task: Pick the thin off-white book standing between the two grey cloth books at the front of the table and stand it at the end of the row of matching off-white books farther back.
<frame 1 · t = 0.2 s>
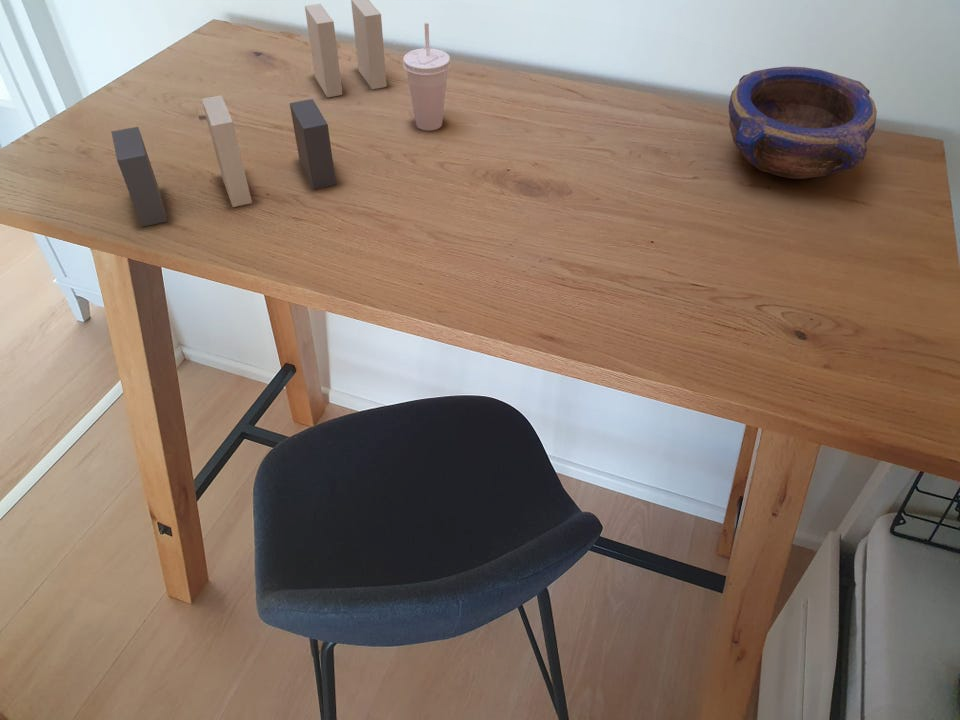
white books: (346, 47, 115), on the table
smoothie: (429, 125, 110), on the table
bowl: (783, 165, 103), on the table
grey books: (237, 190, 97), on the table
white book: (237, 190, 97), on the table
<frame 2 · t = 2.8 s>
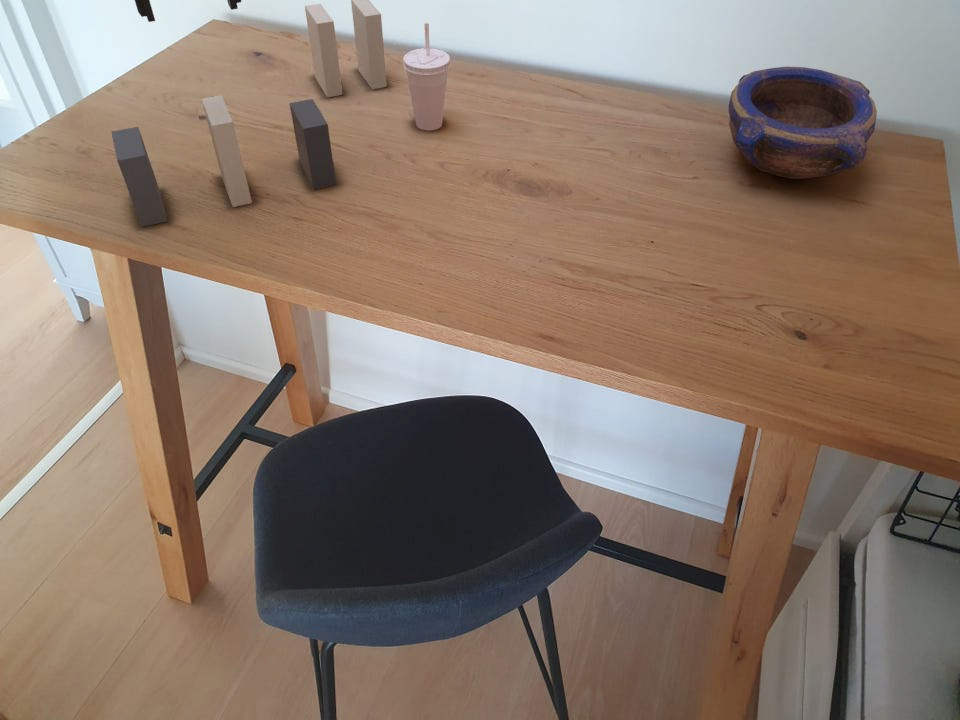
hand: (192, 12, 82), 22 cm above the table, tool pointing down, fingers open, 8 cm apart
nothing on the table moved.
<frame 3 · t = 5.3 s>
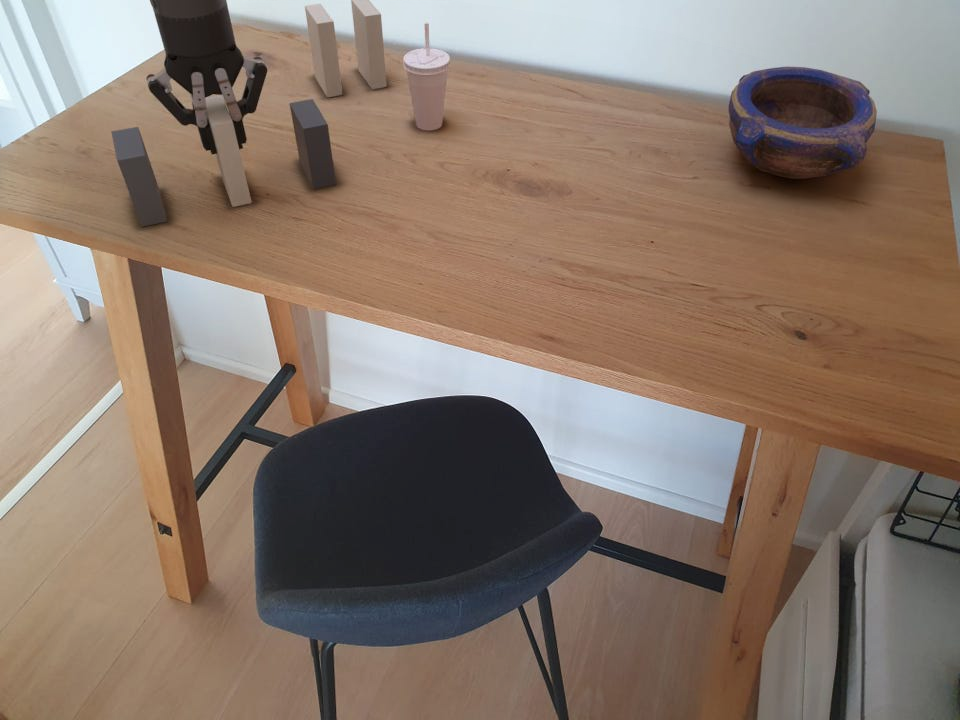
hand: (225, 148, 93), 6 cm above the table, tool pointing down, fingers closed on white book, 2 cm apart
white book: (236, 190, 97), on the table, touching gripper
everything else where it was.
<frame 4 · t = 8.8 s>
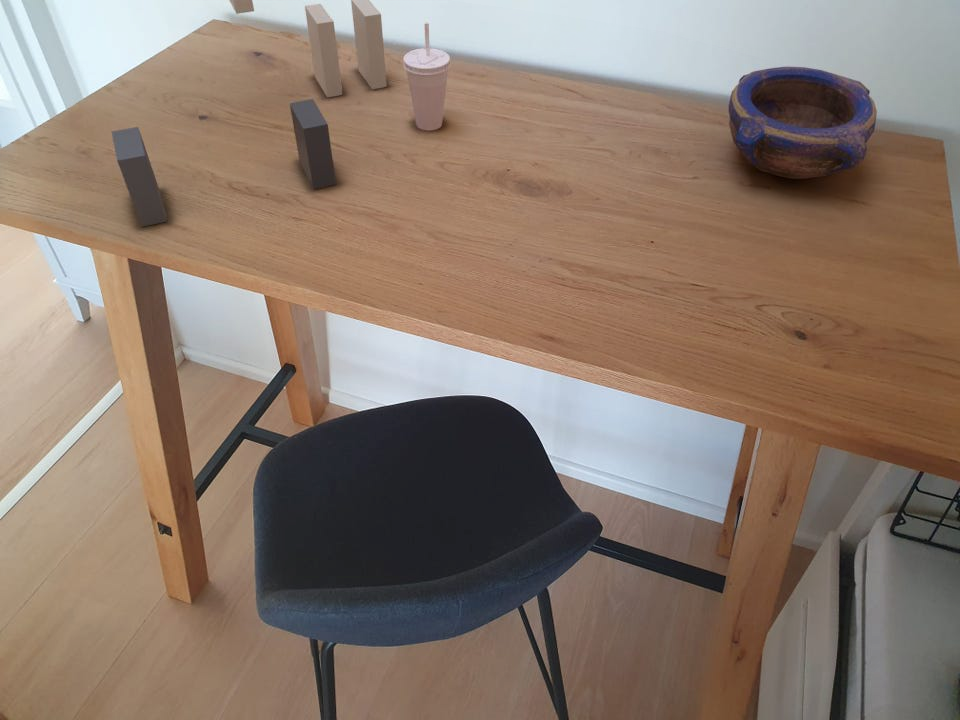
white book: (240, 3, 104), point 14 cm above the table, touching gripper
everything else where it was.
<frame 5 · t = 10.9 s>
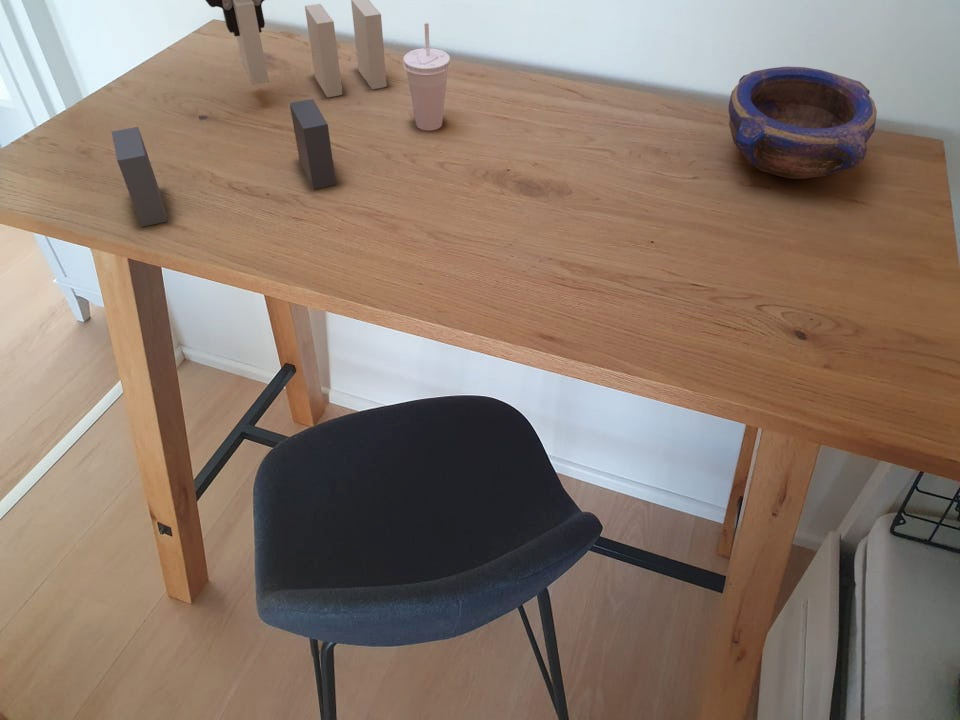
hand: (246, 32, 108), 10 cm above the table, tool pointing down, fingers closed on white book, 2 cm apart
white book: (255, 73, 112), point 4 cm above the table, touching gripper
everything else where it was.
when the fingers open (6 cm above the table, at t = 12.2 s): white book stays where it is, on the table.
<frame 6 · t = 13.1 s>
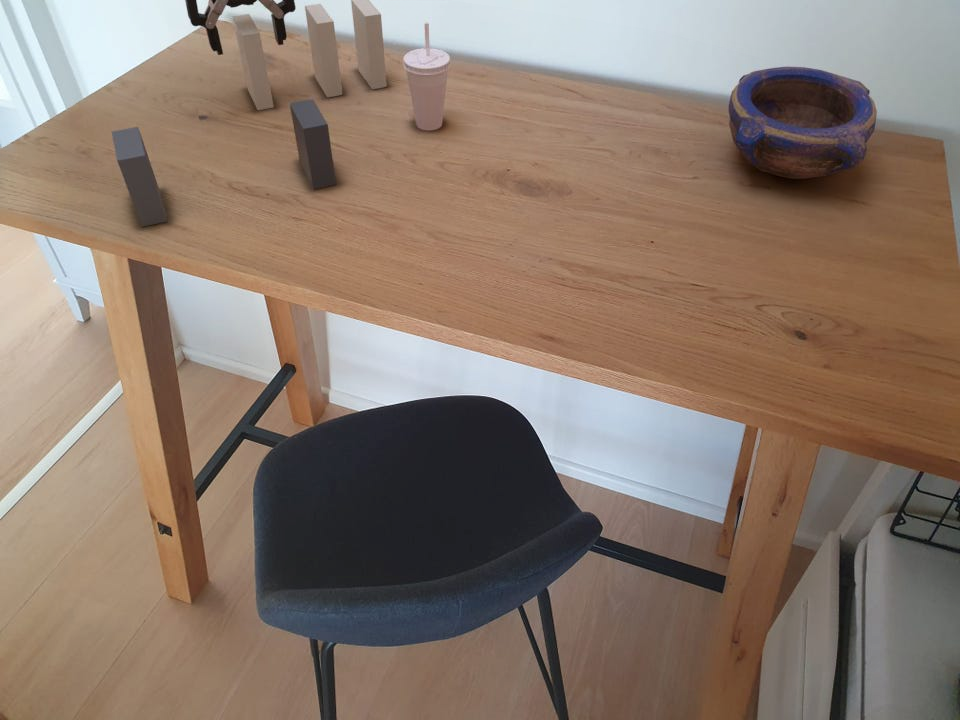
hand: (249, 47, 109), 8 cm above the table, tool pointing down, fingers open, 8 cm apart
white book: (260, 98, 115), on the table
everything else where it was.
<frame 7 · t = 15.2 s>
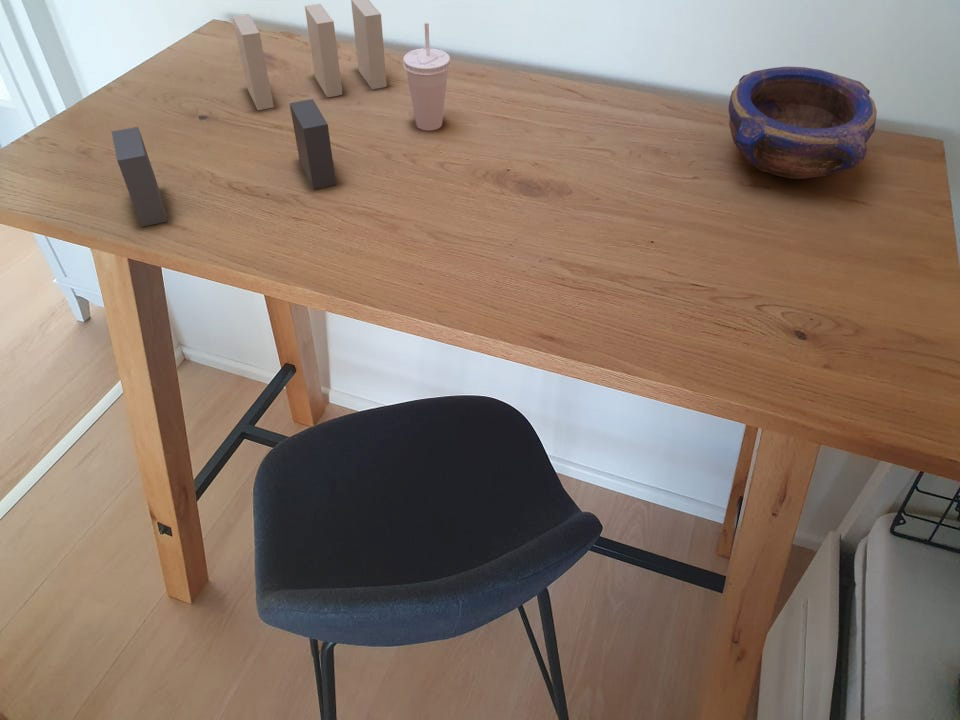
nothing on the table moved.
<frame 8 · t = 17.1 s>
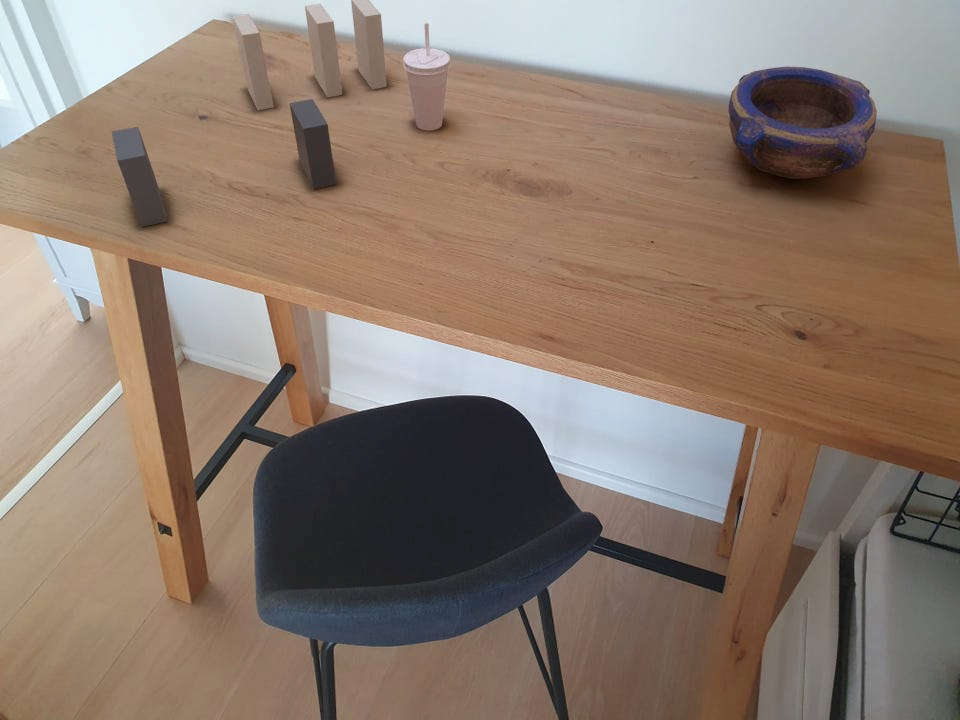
nothing on the table moved.
at the end: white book 0.0 cm off-centre on the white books, point 0.0 cm above the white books's base; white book tilted 0°; the gripper is holding nothing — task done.
